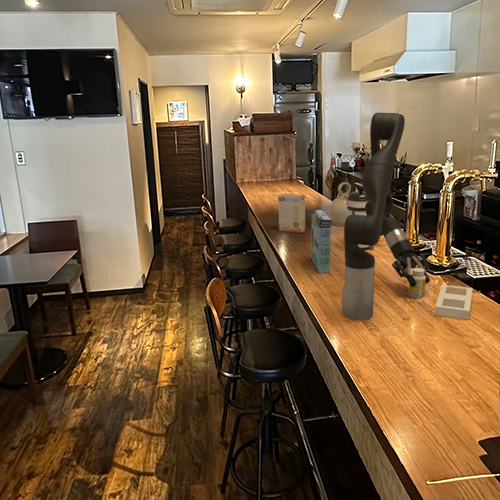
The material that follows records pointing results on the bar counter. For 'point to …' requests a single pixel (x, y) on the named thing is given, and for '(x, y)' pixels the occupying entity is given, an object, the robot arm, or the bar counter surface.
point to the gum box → (320, 241)
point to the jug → (340, 206)
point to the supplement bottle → (418, 283)
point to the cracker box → (291, 213)
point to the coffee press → (358, 206)
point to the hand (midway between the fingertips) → (421, 284)
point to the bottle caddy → (454, 302)
